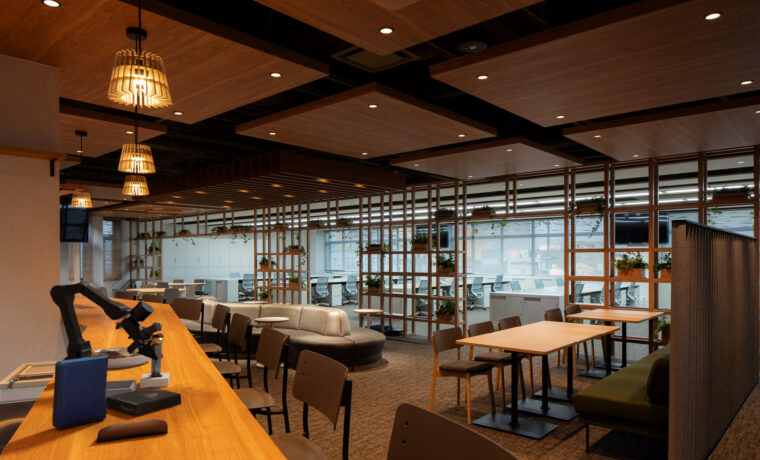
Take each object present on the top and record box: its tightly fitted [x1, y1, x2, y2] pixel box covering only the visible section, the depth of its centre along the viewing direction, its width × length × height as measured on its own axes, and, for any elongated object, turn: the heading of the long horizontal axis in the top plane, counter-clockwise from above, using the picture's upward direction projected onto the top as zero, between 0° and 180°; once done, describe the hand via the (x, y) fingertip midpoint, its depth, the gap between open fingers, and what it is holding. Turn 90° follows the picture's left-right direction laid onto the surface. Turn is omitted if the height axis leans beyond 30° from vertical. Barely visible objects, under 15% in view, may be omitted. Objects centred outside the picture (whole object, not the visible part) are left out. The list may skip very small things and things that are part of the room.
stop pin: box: [150, 338, 164, 378], centre depth 197 cm, size 4×4×16 cm
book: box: [51, 354, 108, 430], centre depth 149 cm, size 14×5×20 cm, turn 141°
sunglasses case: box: [96, 418, 169, 443], centre depth 141 cm, size 18×7×7 cm, turn 118°
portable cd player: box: [106, 387, 183, 418], centre depth 168 cm, size 16×17×4 cm
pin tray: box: [105, 379, 137, 400], centre depth 180 cm, size 14×14×4 cm
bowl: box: [90, 346, 151, 370], centre depth 233 cm, size 30×30×8 cm
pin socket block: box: [139, 372, 171, 389], centre depth 197 cm, size 10×10×3 cm
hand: (159, 358), depth 197 cm, fingers closed on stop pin, 4 cm apart
